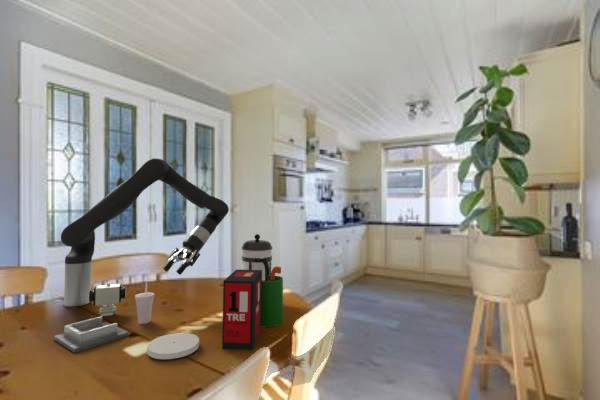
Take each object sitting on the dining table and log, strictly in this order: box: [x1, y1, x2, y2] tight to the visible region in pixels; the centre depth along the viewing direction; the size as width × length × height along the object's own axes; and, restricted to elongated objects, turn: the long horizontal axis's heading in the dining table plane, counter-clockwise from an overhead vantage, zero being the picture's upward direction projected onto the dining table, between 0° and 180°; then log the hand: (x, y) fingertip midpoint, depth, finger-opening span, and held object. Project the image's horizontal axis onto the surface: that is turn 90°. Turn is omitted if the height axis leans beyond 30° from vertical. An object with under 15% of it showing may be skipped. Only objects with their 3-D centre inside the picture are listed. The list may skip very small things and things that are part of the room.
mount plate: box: [53, 315, 129, 354], centre depth 100 cm, size 15×15×4 cm
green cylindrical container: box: [261, 266, 284, 328], centre depth 117 cm, size 10×9×20 cm
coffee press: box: [241, 233, 273, 281], centre depth 133 cm, size 17×16×30 cm
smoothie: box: [134, 281, 155, 325], centre depth 115 cm, size 6×6×14 cm
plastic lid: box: [146, 332, 200, 360], centre depth 93 cm, size 14×14×2 cm
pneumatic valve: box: [89, 282, 127, 318], centre depth 121 cm, size 6×12×12 cm, turn 115°
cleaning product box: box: [221, 269, 262, 351], centre depth 102 cm, size 16×9×20 cm, turn 178°
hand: (171, 271), depth 123 cm, fingers open, 8 cm apart
